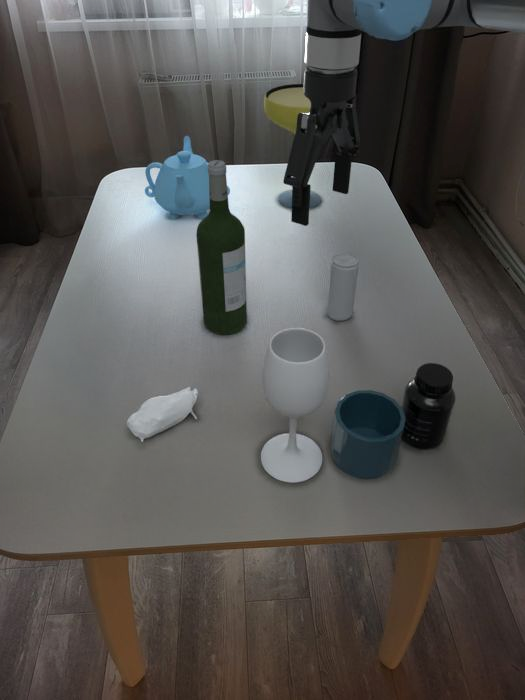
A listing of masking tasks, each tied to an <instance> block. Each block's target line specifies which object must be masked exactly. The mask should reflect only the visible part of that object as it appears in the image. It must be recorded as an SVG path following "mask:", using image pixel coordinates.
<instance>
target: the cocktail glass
mask: <svg viewBox="0 0 525 700" xmlns="http://www.w3.org/2000/svg"><path fill="white" fill-rule="evenodd" d="M303 86H304V83H291V84H284V85H283V84H282V85H278V86H276V87H275V86H274V87H272V88H270V89H269V90H267V91H266V93H265V94H264V99H263V109H264V114H265V115H266V117H267V118H268V119H269V120H270V121H271V122H272V123H273V124H274V125H277V126H278V127H280V128H282V129H285V130H287V131H289V132H291V133H292V134H294V135H295V133H296V126H297V117H298V114H299V113H304V114H309V111H310V107H311V102H310V100H309V99H308V98H306V97H305V95H304V93H303ZM277 200H278V202H279V203H280V205H282V206H283V207H285V208H287V209H291V210H292V189H290V190H286V191H283V192H281V193H280V194H279V195H278V197H277ZM321 202H322V197H321V196H320V194H318V193H317V192H315V191H312V190H310V206H309V210H310V209H313V208H316V207H317V206H319V205H320V204H321Z"/></svg>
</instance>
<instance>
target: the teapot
mask: <svg viewBox="0 0 525 700" xmlns="http://www.w3.org/2000/svg"><path fill="white" fill-rule="evenodd" d="M191 143H192V142H191V137H190V136H189V135H185V136H184V137H183V147H182V149H183V150H181V151H178V152H177V153H176V154H175V155H172V156H169V157H168V158H166V159H165V160H164V162H163V163H161V162H152V163H150V164H148V165H147V166H146V168H145V170H144V171H145V178H146V180H147V183H148V185H147V186H145V188H144V194H145V195H146V196H147V197H148V198H154V200H155V201H156V203H157V204H158V205H159V206H160V207H161V208H162V209H163V210H164V211H166V212H168V216H167V217H168V218H169V219H172V220H175V219H178V218H180V217H181V216H194V215H196V218H199V219H203V218H204V217H205V216H206V215H208V214H209V211H210V197H209V173H208V165H209V162H207V160H206V159H205V158H204V157H203V156H201V155H198V154H195V153H194V152H193V149H192V144H191ZM151 169H159V171H158V173H157V176H156V178H155V182H154V180H153V178H152V175H151ZM150 190H151V191H150ZM227 192H228V196H229V195H230V193H231V188H230V187H229V186H228V185H227Z"/></svg>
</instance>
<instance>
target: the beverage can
mask: <svg viewBox="0 0 525 700" xmlns="http://www.w3.org/2000/svg"><path fill="white" fill-rule="evenodd" d="M359 265H360V262H359V258H358V256H356V255H355V254H353V253H351V252H338V253H336V254H334V255H332V257H331V262H330V268H329V269H330V270H329V281H328V291H327V292H328V293H327V301H326V302H327V303H326V315H327V317H329V318H330V319H331V320H333V321H337V322H344V321H347V320H348V319H350V318H351V317H352V316H353V312H354V305H355V304H354V303H355V298H356V297H355V296H356V289H357V281H358V274H359V273H358V272H359Z"/></svg>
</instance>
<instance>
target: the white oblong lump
mask: <svg viewBox="0 0 525 700" xmlns="http://www.w3.org/2000/svg"><path fill="white" fill-rule="evenodd" d="M198 393H199V391H198V388H197V387H195V388H193V389H192V387H191V386H187V387H186V388H183V389H181V390H179V391H177V392H173V393H171V394H168V395H159V396H154V397H151V398H149V399H147V400H145V401H144V402H142V403H141V405H140V406H139V409H138V410H137V411H135V412H134V413H132V414H130V416H129V418H128V419H127V421H126V427H127V428H128V429H129V430H130V432H131V433H132V434H133V436H134V437H137V438H138V439H140V442H141V443H144V440H145V439H149V438H151V437H153V436H155V435H158V433H159V434H160V433H162V432H165V430H166V431H167V430H168V429H170V428H171V427H174V426H176V425H178V424H179V423H181V422H182V421H183V420H185V419H186V417H188V415H190V414H191V415H192V417H193V418H194V419H195V420H198V417H197V416H196V414H195V413H194V410H193V407H194V405H195V404H196V403H197V400H198V396H199V395H198Z"/></svg>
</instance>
